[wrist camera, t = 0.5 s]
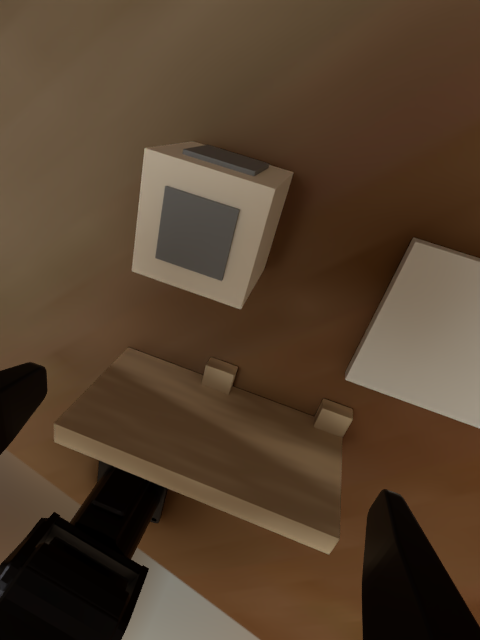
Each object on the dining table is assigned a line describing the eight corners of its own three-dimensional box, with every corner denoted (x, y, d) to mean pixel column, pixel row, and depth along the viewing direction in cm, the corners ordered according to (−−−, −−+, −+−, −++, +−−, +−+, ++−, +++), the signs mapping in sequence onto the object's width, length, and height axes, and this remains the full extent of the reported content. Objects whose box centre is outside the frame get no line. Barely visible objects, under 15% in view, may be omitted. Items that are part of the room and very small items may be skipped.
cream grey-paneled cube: (264, 269, 22) (239, 311, 17) (177, 239, 23) (129, 272, 18) (295, 168, 19) (276, 184, 14) (194, 137, 20) (143, 142, 15)
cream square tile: (489, 424, 23) (493, 433, 22) (345, 372, 24) (345, 379, 23) (597, 295, 18) (606, 302, 17) (413, 237, 19) (415, 241, 18)
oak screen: (325, 457, 27) (317, 571, 20) (124, 380, 29) (54, 461, 22) (352, 409, 25) (353, 519, 18) (130, 327, 26) (53, 400, 19)
